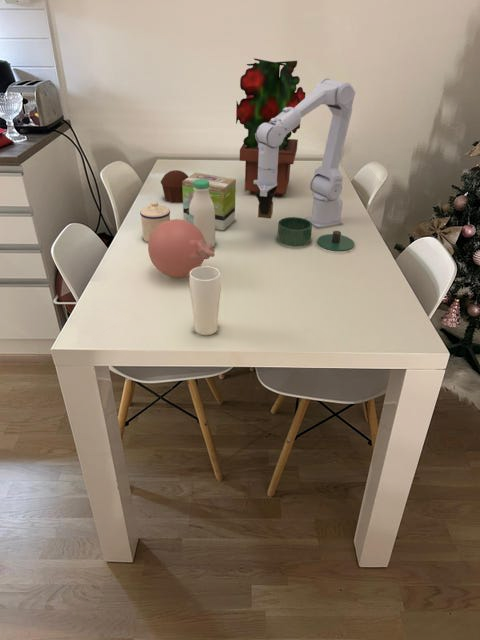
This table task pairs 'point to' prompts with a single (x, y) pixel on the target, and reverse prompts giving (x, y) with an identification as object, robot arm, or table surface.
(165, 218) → the teacup with lid
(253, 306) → the table surface
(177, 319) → the table surface
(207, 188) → the milk bottle
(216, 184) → the tea box
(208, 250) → the balloon
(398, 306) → the table surface
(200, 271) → the drinking glass
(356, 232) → the table surface
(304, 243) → the pot
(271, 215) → the block
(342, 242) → the lid
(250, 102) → the potted plant
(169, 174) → the muffin
